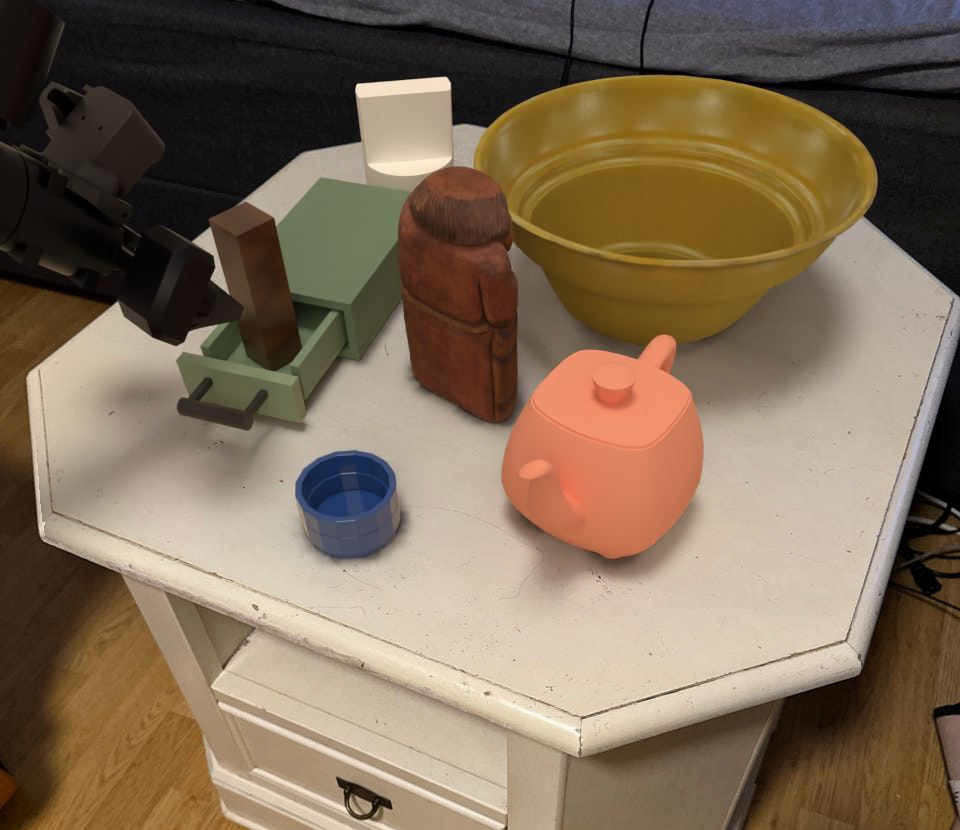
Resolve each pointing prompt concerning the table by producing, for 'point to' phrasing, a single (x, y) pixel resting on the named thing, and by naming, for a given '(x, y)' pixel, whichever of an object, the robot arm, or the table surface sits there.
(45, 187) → the robot arm
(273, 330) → the walnut block
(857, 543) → the table surface
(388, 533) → the blue bowl
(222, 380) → the drawer
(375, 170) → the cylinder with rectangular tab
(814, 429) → the table surface
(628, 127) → the planter bowl
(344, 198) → the cabinet
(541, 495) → the teapot
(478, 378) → the wooden figurine
